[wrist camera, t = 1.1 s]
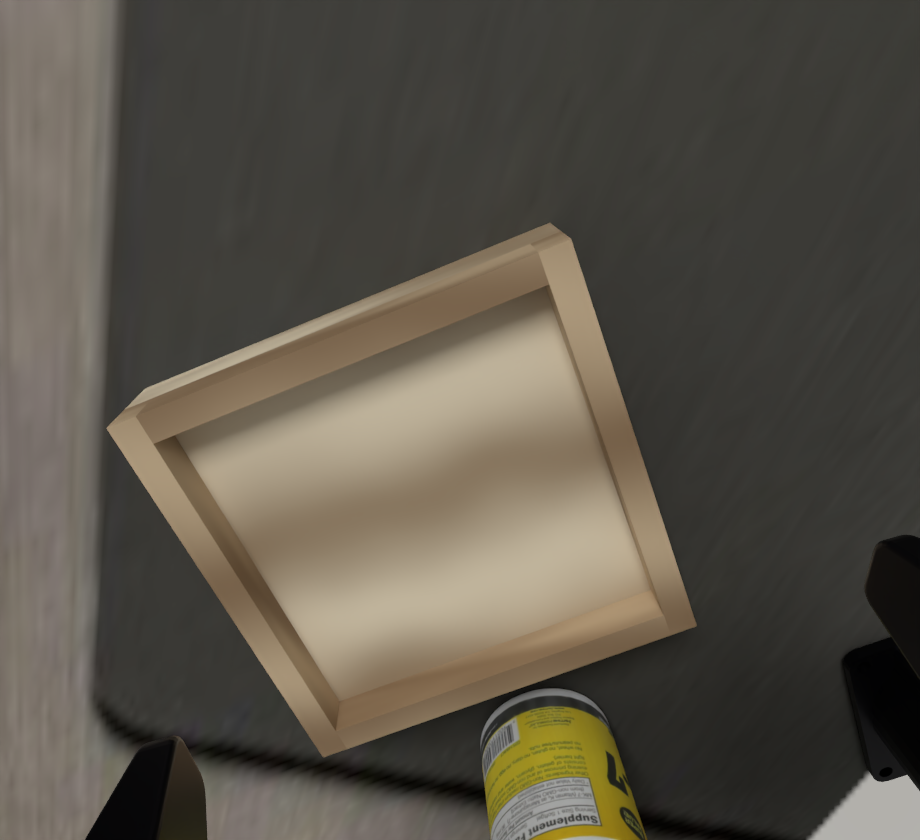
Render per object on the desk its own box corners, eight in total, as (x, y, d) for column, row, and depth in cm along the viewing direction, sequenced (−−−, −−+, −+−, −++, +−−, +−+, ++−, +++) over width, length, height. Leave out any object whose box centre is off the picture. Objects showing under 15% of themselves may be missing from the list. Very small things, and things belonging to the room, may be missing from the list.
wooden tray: (661, 563, 24) (697, 625, 21) (333, 681, 25) (323, 757, 22) (546, 220, 19) (571, 239, 16) (150, 383, 20) (106, 428, 17)
